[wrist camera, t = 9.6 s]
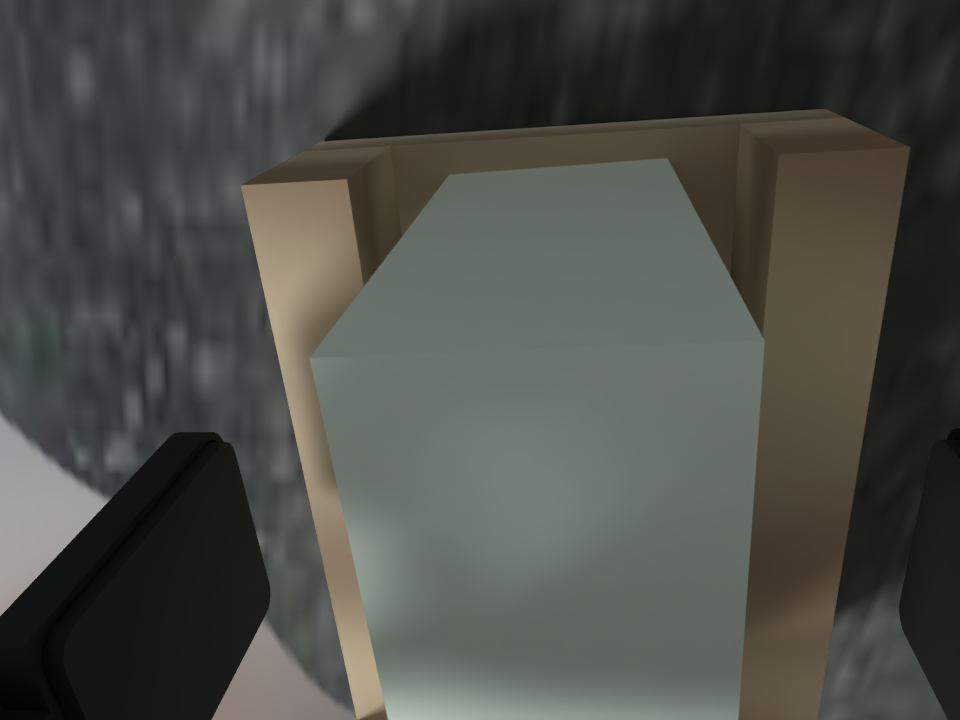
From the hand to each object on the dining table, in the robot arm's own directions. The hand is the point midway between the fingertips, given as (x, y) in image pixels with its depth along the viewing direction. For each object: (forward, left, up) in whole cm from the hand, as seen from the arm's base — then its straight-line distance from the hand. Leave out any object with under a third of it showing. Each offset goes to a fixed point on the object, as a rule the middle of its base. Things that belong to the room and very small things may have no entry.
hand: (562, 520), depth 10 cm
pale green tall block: (0, 0, -4) cm, 4 cm away
